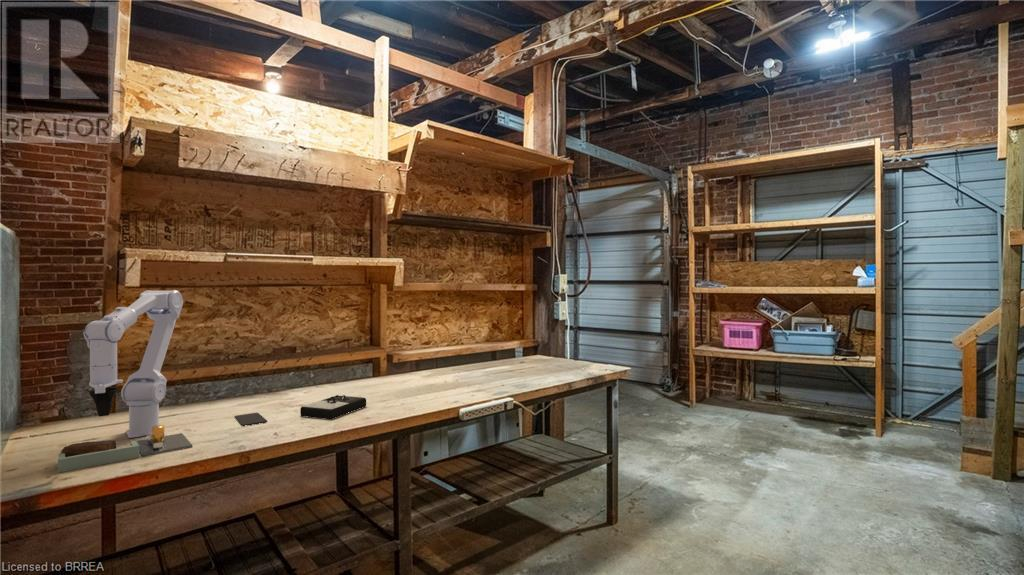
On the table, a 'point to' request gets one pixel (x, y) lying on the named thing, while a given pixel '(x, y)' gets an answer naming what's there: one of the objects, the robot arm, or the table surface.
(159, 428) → the crank
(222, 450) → the table surface
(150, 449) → the plate
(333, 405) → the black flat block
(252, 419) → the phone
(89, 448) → the brick
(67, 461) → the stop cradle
